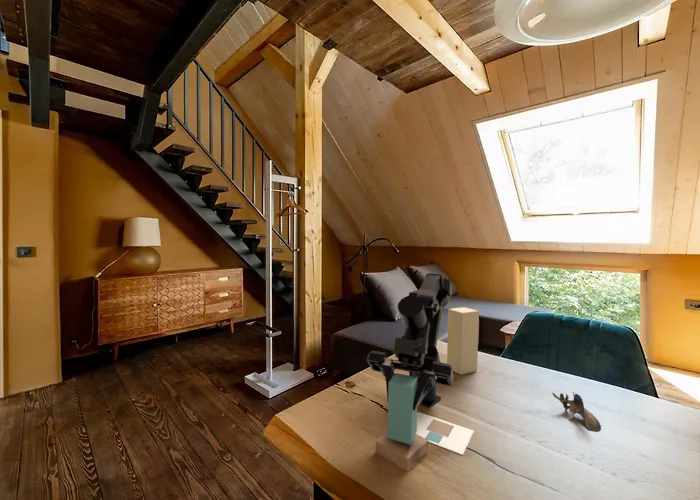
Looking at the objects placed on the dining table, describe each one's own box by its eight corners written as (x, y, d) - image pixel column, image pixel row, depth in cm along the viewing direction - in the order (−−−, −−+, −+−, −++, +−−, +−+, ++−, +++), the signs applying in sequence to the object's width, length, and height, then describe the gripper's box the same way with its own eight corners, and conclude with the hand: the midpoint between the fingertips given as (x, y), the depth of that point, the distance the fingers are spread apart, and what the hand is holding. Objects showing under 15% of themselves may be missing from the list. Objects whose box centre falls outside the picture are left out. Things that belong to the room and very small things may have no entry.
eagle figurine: (545, 407, 85) (578, 421, 75) (556, 381, 86) (589, 391, 77) (569, 422, 86) (604, 438, 76) (579, 396, 87) (614, 408, 78)
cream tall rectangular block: (461, 363, 116) (463, 306, 115) (477, 371, 110) (479, 310, 109) (444, 367, 113) (446, 308, 112) (460, 375, 106) (462, 313, 105)
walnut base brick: (397, 437, 74) (397, 424, 74) (428, 453, 69) (428, 440, 69) (375, 454, 68) (376, 440, 68) (407, 473, 63) (407, 458, 63)
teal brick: (394, 425, 72) (395, 373, 71) (416, 431, 70) (417, 377, 69) (387, 437, 67) (388, 382, 67) (411, 444, 65) (412, 387, 64)
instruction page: (418, 412, 84) (418, 411, 84) (474, 431, 76) (474, 430, 76) (402, 431, 76) (402, 431, 76) (462, 455, 68) (462, 454, 68)
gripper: (370, 316, 75) (349, 382, 65) (453, 327, 67) (443, 404, 57) (380, 339, 82) (364, 401, 73) (456, 351, 74) (448, 422, 65)
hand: (401, 406), depth 67 cm, fingers open, 5 cm apart
